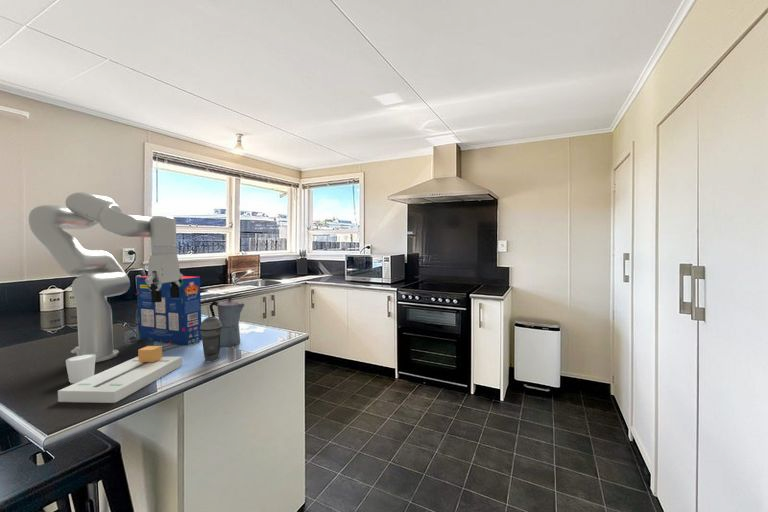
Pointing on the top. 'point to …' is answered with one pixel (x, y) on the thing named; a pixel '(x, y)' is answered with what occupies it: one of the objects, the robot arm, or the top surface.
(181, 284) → the blue box
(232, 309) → the moka pot
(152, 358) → the fader knob
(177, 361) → the slide fader track
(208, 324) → the beverage cup
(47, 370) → the top surface
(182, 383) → the top surface
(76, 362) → the white tapered cup
